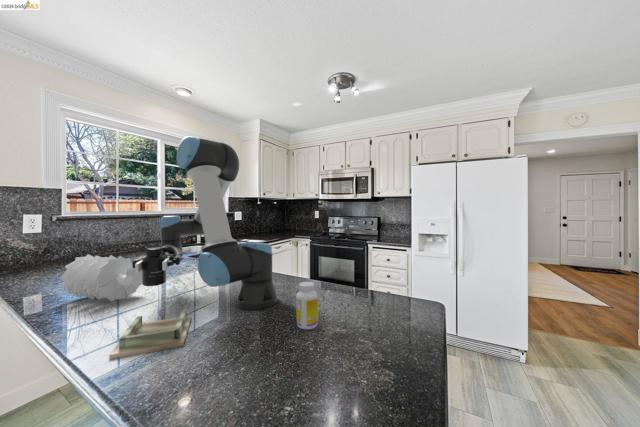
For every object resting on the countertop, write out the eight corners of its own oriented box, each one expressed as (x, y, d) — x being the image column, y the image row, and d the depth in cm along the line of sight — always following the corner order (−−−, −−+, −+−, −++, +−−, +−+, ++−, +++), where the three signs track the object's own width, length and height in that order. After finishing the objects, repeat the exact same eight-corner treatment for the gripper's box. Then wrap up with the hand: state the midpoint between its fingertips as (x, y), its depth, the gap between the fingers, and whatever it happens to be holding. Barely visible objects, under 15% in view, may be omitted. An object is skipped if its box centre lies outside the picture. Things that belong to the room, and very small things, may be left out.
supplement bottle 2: (321, 322, 81) (320, 281, 80) (313, 331, 74) (313, 288, 74) (301, 319, 83) (301, 280, 83) (292, 328, 77) (292, 286, 76)
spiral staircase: (116, 314, 99) (69, 305, 105) (153, 283, 114) (110, 277, 120) (94, 277, 91) (45, 270, 97) (137, 249, 106) (92, 244, 112)
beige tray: (133, 327, 79) (133, 315, 79) (191, 318, 84) (191, 308, 84) (109, 359, 62) (108, 344, 62) (183, 345, 68) (183, 332, 68)
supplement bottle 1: (154, 287, 82) (153, 250, 82) (137, 286, 83) (136, 249, 83) (171, 281, 89) (170, 246, 88) (154, 280, 90) (154, 246, 90)
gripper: (193, 262, 106) (185, 275, 85) (137, 266, 99) (113, 282, 78) (193, 244, 106) (184, 253, 84) (137, 247, 99) (112, 257, 78)
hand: (150, 267), depth 81 cm, fingers closed on supplement bottle 1, 7 cm apart
